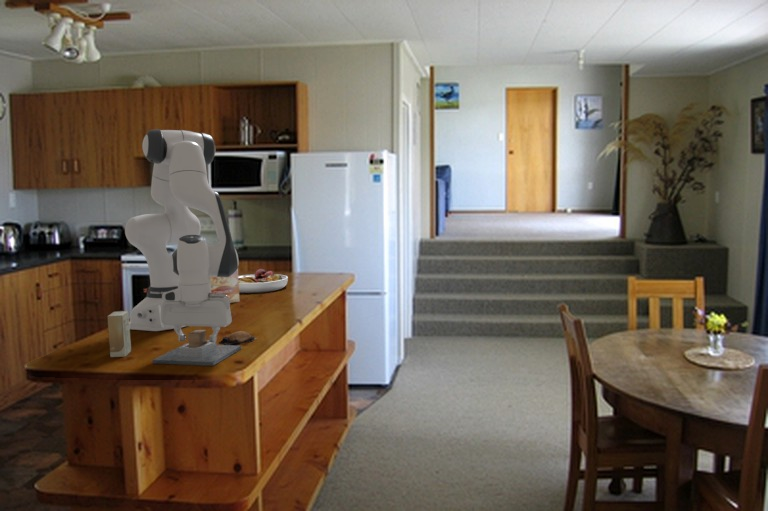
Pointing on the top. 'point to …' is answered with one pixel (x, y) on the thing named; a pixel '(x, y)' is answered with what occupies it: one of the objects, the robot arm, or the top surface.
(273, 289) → the bowl
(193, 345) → the walnut peg
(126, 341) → the skincare box
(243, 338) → the bread roll
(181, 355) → the metal duct collar
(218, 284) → the coffeecake box
